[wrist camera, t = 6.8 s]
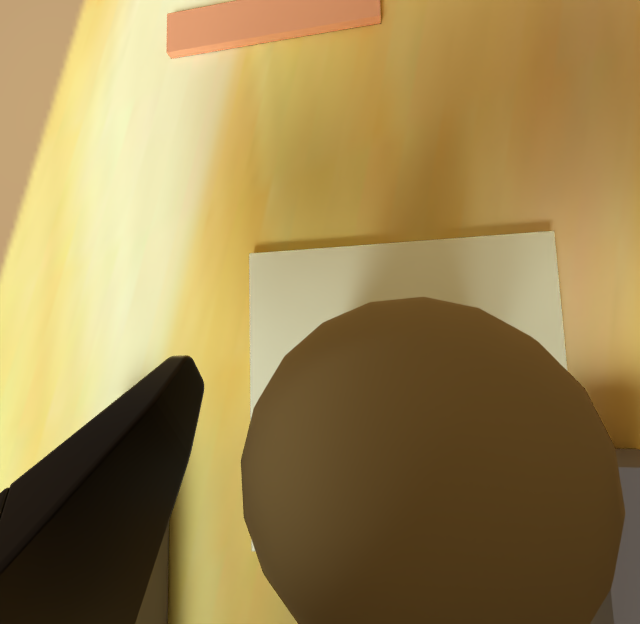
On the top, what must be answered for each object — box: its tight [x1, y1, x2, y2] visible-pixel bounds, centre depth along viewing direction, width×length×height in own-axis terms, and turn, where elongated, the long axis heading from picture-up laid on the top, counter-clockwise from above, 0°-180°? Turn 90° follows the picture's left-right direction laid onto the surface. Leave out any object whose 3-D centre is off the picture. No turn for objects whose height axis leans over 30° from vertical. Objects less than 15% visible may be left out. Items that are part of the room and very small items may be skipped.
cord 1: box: [590, 449, 640, 624], centre depth 12 cm, size 10×2×2 cm, turn 2°
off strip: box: [167, 0, 381, 59], centre depth 18 cm, size 2×10×1 cm, turn 92°
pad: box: [249, 231, 567, 551], centre depth 15 cm, size 12×12×1 cm
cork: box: [241, 297, 626, 624], centre depth 10 cm, size 6×6×11 cm
